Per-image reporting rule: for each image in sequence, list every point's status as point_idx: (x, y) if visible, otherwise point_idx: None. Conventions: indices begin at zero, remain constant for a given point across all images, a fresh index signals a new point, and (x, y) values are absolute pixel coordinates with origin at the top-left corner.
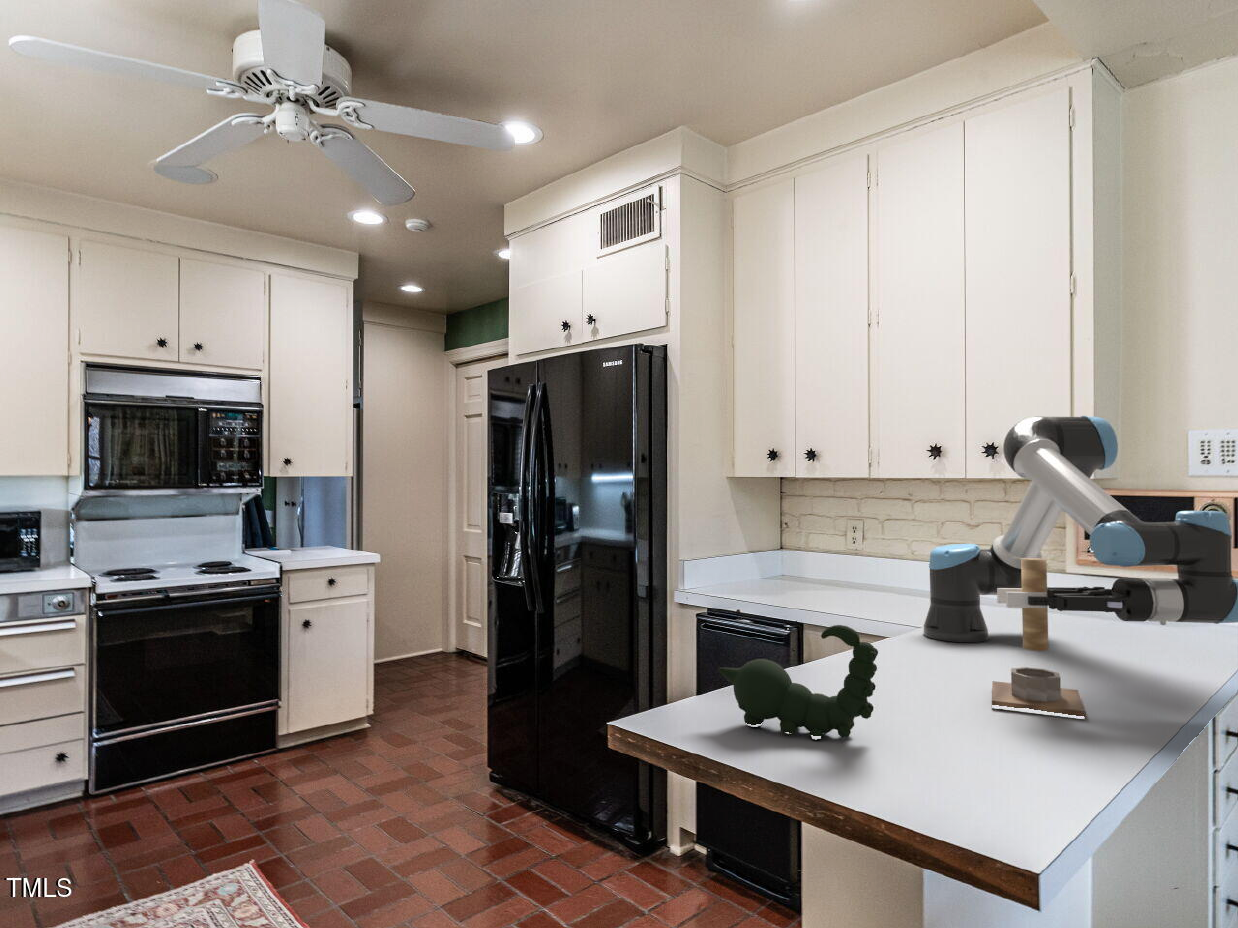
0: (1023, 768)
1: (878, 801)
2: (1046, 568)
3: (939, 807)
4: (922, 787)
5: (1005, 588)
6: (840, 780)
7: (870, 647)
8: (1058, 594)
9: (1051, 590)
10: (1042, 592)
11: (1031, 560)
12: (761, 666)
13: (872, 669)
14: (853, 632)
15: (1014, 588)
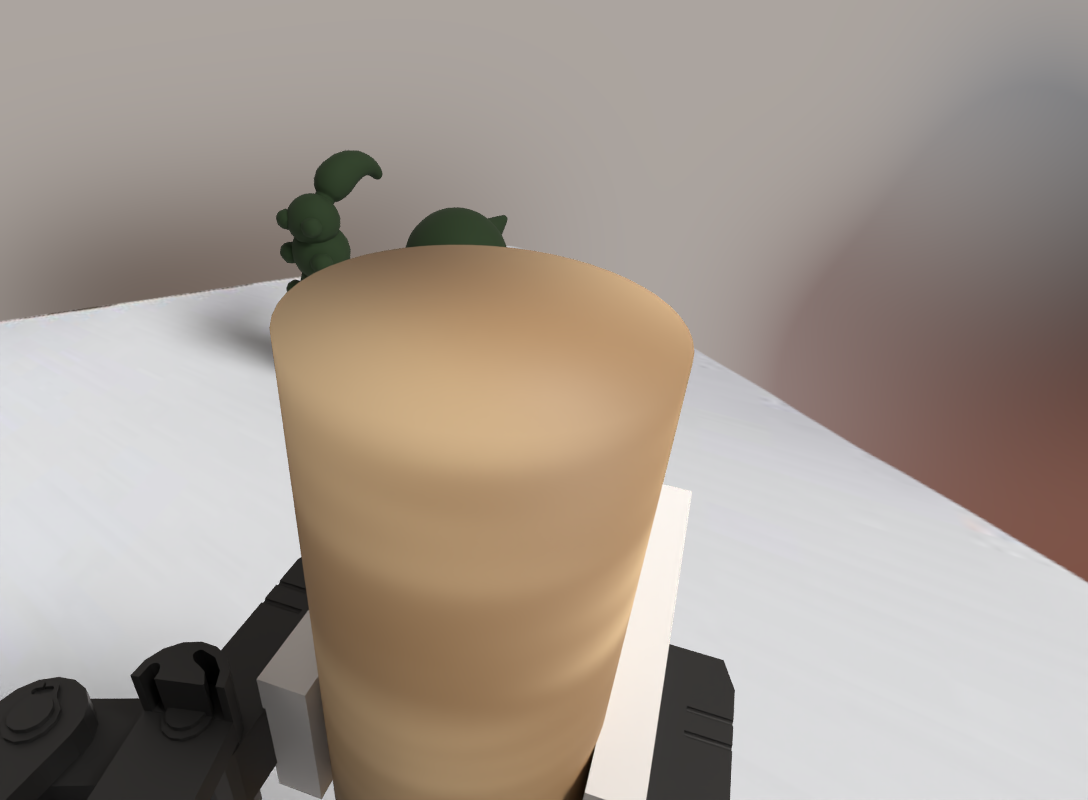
0: (13, 527)
1: (118, 323)
2: (309, 517)
3: (39, 357)
4: (108, 370)
5: (662, 528)
6: (208, 320)
7: (291, 203)
8: (127, 788)
9: (164, 652)
10: (309, 657)
11: (378, 258)
12: (436, 211)
13: (282, 245)
14: (320, 166)
15: (659, 592)
